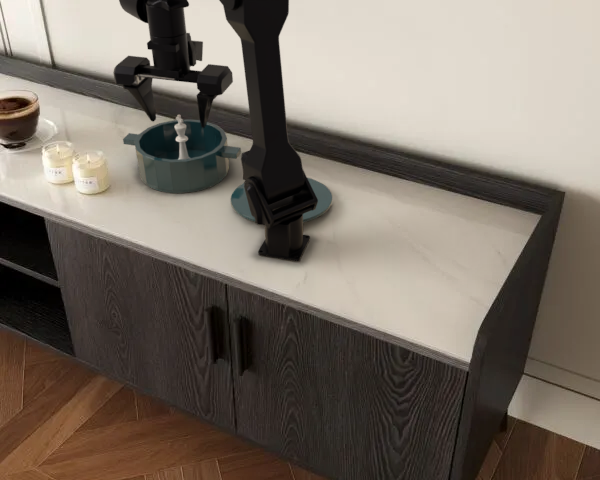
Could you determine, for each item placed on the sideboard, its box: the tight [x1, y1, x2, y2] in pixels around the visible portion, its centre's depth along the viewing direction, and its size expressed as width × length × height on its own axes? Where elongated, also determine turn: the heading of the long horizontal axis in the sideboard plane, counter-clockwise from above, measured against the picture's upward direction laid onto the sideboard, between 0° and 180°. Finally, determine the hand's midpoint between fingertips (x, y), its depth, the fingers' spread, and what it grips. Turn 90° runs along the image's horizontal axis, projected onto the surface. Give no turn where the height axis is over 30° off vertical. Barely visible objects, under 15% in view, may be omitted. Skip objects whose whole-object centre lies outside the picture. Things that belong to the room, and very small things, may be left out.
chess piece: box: [174, 114, 190, 159], centre depth 131 cm, size 5×5×10 cm
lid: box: [230, 177, 333, 223], centre depth 123 cm, size 17×17×5 cm
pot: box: [122, 119, 242, 194], centre depth 133 cm, size 16×21×6 cm
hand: (178, 123), depth 129 cm, fingers open, 9 cm apart
